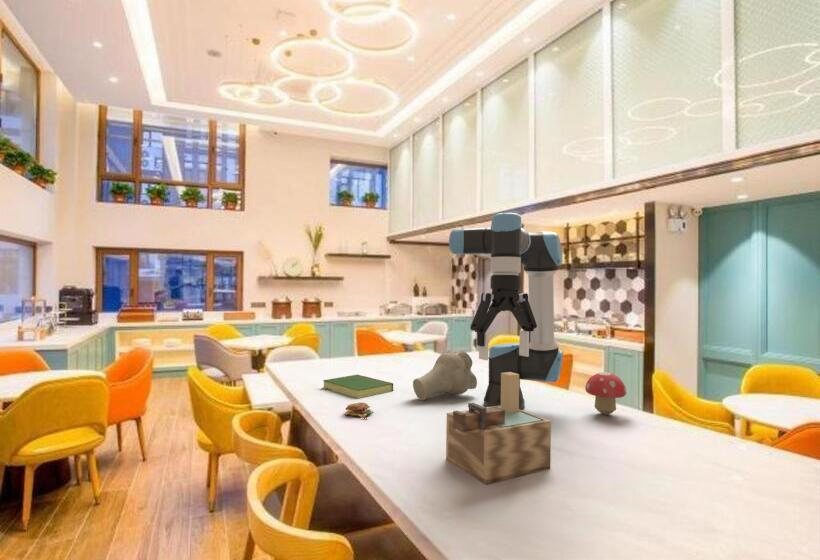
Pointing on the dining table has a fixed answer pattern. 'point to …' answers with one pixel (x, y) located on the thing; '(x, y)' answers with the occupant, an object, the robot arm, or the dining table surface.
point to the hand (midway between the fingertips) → (504, 357)
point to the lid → (512, 401)
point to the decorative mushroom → (605, 391)
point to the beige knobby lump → (447, 376)
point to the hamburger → (358, 410)
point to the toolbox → (499, 447)
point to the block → (477, 419)
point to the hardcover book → (358, 385)
